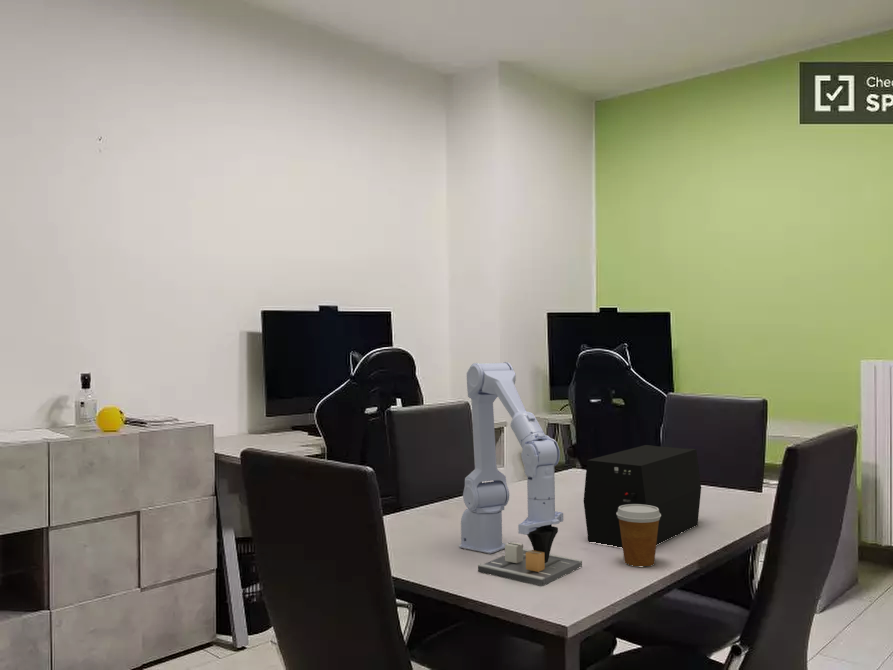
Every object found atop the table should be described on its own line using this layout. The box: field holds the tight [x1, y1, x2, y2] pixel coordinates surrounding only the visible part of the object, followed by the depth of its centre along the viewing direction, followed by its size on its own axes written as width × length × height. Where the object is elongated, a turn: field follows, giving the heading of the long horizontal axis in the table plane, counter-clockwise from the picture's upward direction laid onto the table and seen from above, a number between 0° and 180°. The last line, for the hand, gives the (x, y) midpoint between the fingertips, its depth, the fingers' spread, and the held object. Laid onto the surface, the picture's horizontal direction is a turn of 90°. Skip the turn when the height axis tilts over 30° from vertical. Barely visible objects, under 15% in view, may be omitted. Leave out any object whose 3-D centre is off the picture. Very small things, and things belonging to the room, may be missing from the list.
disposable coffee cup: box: [616, 504, 661, 567], centre depth 168 cm, size 10×10×12 cm
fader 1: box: [504, 541, 524, 563], centre depth 166 cm, size 3×2×4 cm
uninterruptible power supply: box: [583, 444, 702, 548], centre depth 193 cm, size 16×34×20 cm, turn 140°
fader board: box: [477, 548, 583, 587], centre depth 165 cm, size 16×16×2 cm
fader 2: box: [526, 549, 545, 572], centre depth 160 cm, size 3×2×4 cm
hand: (542, 561), depth 162 cm, fingers closed
